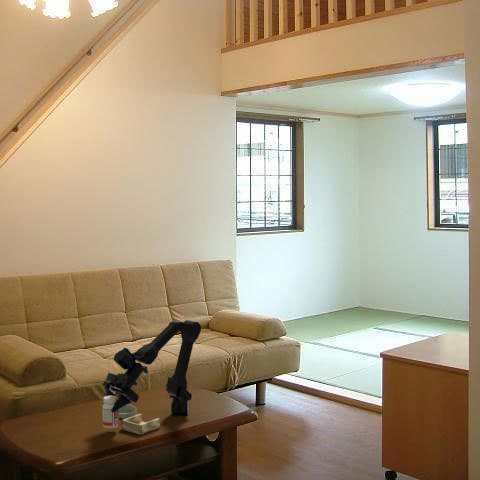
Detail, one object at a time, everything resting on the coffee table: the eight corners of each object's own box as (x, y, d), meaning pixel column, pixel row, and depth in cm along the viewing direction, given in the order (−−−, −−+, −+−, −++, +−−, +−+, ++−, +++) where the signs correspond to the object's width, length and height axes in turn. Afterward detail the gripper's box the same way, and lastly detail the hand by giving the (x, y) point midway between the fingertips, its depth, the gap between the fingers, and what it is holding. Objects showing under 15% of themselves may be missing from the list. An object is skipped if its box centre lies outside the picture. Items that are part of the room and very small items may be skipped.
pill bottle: (116, 422, 266) (115, 394, 265) (120, 427, 260) (120, 398, 259) (101, 424, 263) (100, 396, 262) (105, 429, 257) (104, 400, 257)
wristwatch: (139, 415, 282) (139, 403, 282) (133, 420, 276) (133, 408, 276) (119, 414, 284) (119, 402, 284) (113, 418, 278) (112, 406, 278)
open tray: (140, 422, 273) (140, 413, 273) (159, 427, 267) (159, 418, 266) (121, 429, 264) (121, 420, 264) (140, 434, 258) (140, 425, 258)
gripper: (105, 360, 269) (81, 393, 263) (131, 368, 256) (107, 403, 249) (122, 376, 275) (99, 408, 269) (149, 385, 262) (125, 419, 255)
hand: (107, 409), depth 260 cm, fingers closed on pill bottle, 6 cm apart
